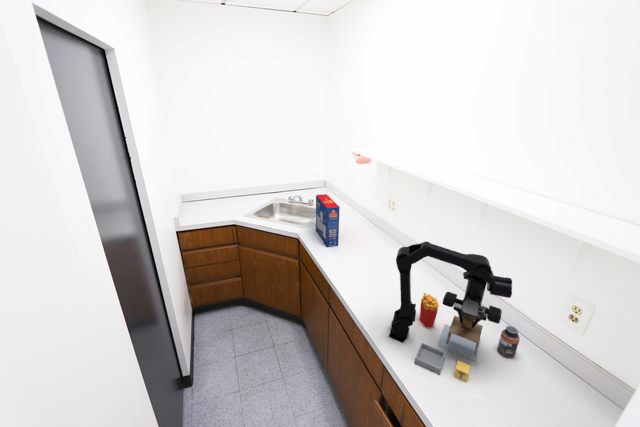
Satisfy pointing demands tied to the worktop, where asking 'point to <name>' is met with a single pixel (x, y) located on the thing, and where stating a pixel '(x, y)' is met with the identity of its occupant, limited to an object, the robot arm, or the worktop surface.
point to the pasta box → (327, 220)
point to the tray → (430, 358)
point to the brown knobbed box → (465, 330)
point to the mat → (458, 344)
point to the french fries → (428, 310)
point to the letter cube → (462, 371)
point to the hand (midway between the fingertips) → (466, 325)
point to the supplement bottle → (508, 342)
